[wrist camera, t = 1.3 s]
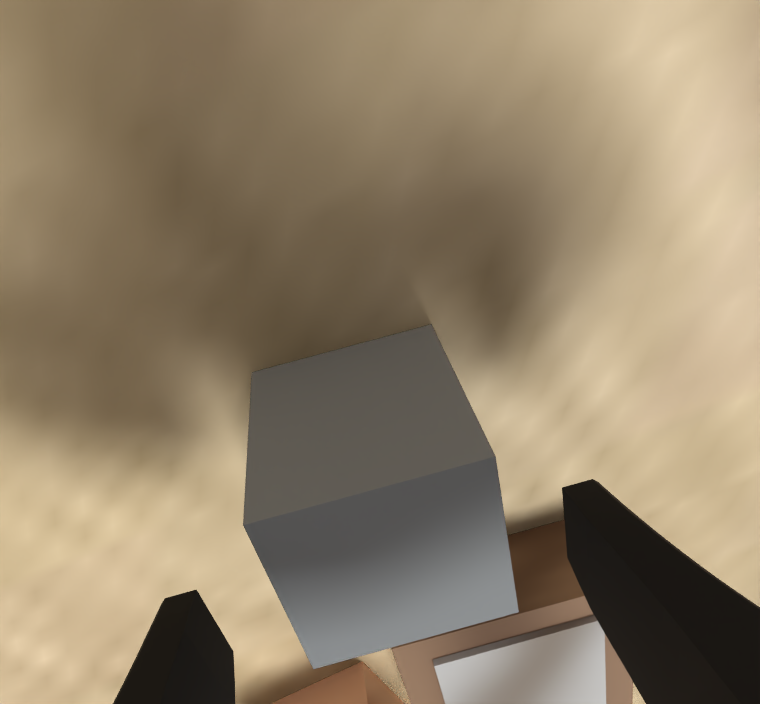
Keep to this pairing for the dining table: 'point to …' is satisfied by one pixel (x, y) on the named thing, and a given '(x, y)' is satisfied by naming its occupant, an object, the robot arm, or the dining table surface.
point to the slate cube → (375, 498)
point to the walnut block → (523, 642)
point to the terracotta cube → (345, 689)
